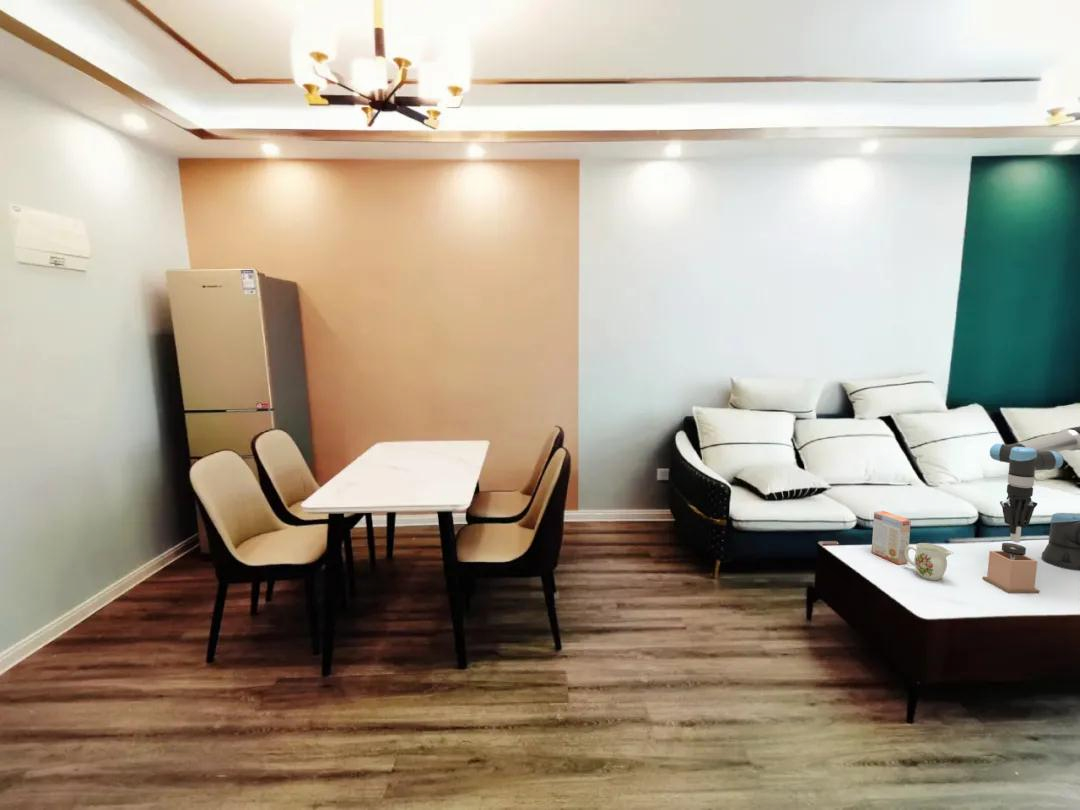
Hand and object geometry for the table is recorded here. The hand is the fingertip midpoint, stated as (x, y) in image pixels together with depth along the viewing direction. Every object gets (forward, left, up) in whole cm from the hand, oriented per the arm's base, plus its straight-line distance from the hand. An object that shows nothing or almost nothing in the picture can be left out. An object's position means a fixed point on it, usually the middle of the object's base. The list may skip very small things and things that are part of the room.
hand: (1014, 541), depth 199 cm
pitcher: (+27, -9, -20) cm, 35 cm away
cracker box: (+31, -27, -20) cm, 46 cm away
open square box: (0, 0, -19) cm, 19 cm away
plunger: (0, 0, -17) cm, 17 cm away
